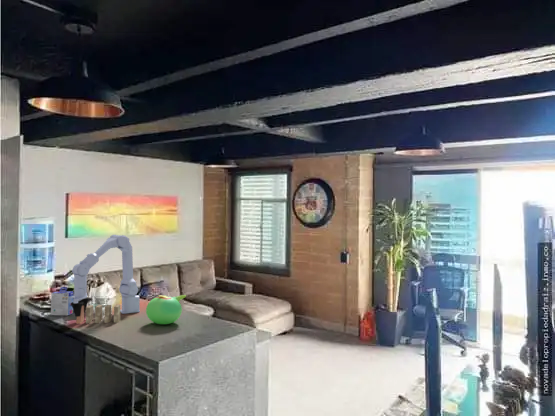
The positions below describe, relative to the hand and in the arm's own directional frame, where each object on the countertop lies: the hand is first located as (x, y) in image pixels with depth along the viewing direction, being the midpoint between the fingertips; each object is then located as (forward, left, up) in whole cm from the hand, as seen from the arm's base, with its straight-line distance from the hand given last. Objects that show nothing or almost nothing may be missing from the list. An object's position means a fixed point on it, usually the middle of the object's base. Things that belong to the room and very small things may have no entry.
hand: (80, 314), depth 211 cm
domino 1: (0, 0, -4) cm, 4 cm away
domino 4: (-13, +5, -4) cm, 14 cm away
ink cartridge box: (+8, -22, -4) cm, 24 cm away
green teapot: (-38, +21, -4) cm, 44 cm away
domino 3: (-8, +3, -4) cm, 10 cm away
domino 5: (-17, +6, -4) cm, 18 cm away
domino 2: (-4, +2, -4) cm, 6 cm away
